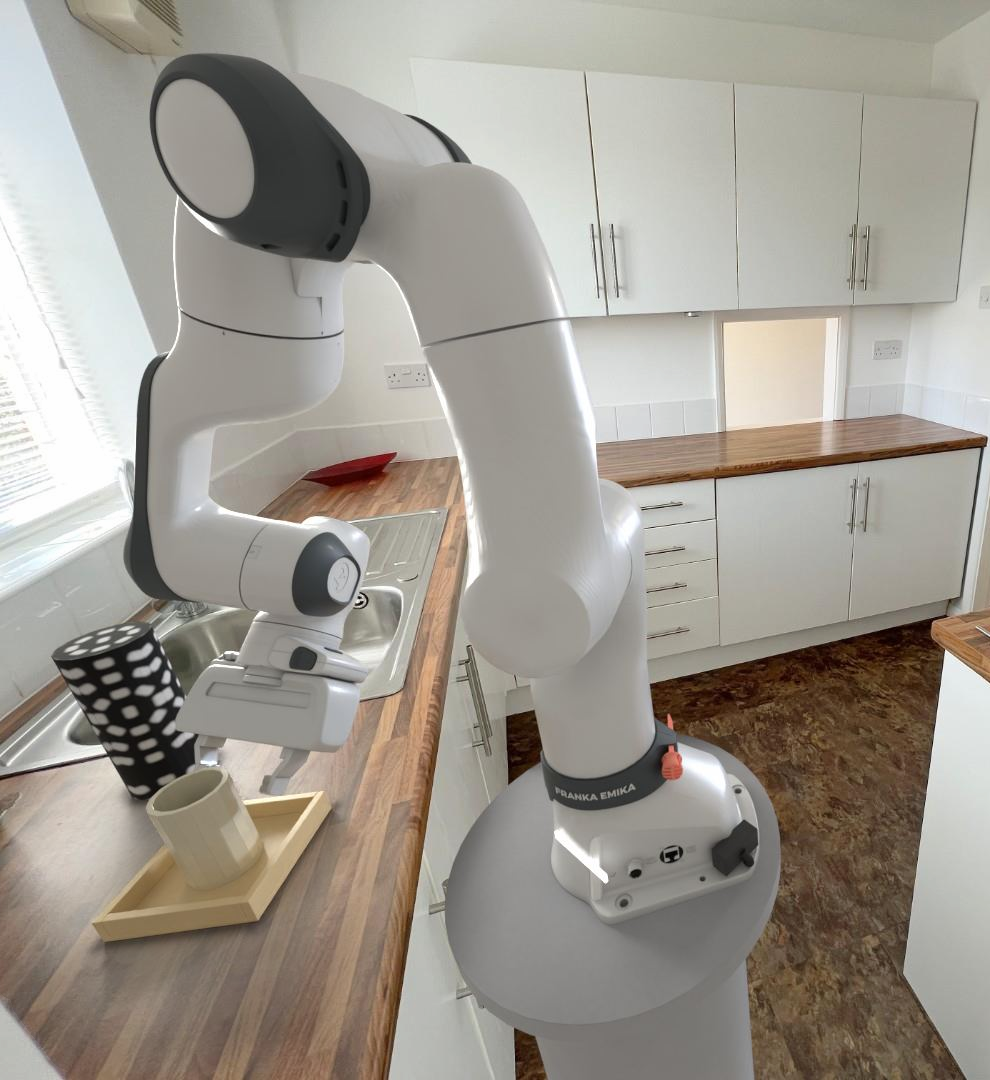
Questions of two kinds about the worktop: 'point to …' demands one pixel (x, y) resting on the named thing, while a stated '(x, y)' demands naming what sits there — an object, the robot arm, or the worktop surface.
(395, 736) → the worktop surface
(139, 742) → the spotted tube
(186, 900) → the tray
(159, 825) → the cup
